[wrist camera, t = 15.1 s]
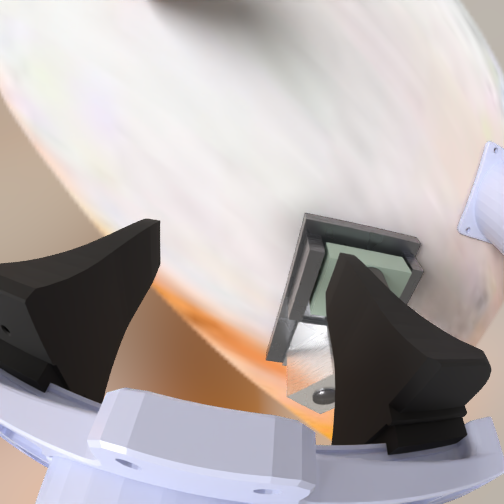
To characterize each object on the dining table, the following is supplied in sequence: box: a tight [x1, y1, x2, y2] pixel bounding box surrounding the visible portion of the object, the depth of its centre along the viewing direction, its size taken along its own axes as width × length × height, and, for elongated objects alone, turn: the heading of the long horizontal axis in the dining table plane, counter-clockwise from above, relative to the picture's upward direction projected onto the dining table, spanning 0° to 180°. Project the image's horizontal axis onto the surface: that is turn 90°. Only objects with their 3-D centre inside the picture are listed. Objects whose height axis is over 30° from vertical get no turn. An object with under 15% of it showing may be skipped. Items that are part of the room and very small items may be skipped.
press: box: [266, 213, 424, 366], centre depth 23 cm, size 9×15×3 cm, turn 171°
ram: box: [309, 242, 412, 316], centre depth 18 cm, size 6×5×6 cm
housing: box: [287, 326, 335, 414], centre depth 23 cm, size 4×4×5 cm
